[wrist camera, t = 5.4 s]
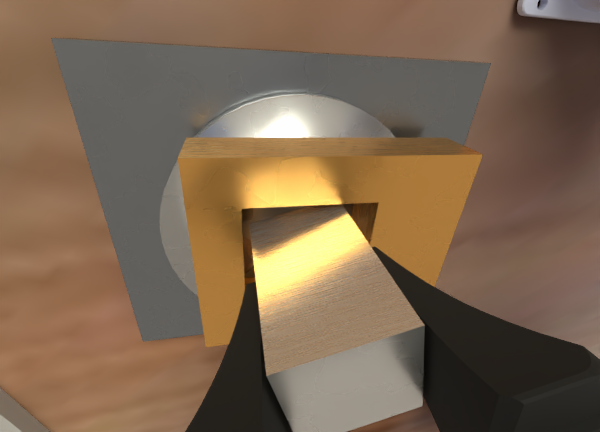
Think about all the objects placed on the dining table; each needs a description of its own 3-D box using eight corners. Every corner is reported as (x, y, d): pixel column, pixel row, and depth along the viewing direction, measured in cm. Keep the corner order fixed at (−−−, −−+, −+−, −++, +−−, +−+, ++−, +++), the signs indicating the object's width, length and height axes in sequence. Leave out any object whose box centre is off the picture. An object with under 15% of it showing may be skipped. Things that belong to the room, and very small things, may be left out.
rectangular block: (337, 197, 13) (424, 325, 7) (348, 265, 15) (422, 406, 10) (249, 222, 13) (266, 375, 7) (272, 287, 15) (300, 447, 9)
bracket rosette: (476, 61, 15) (560, 70, 11) (403, 298, 23) (438, 350, 19) (64, 38, 11) (-18, 38, 8) (146, 328, 19) (126, 399, 16)
